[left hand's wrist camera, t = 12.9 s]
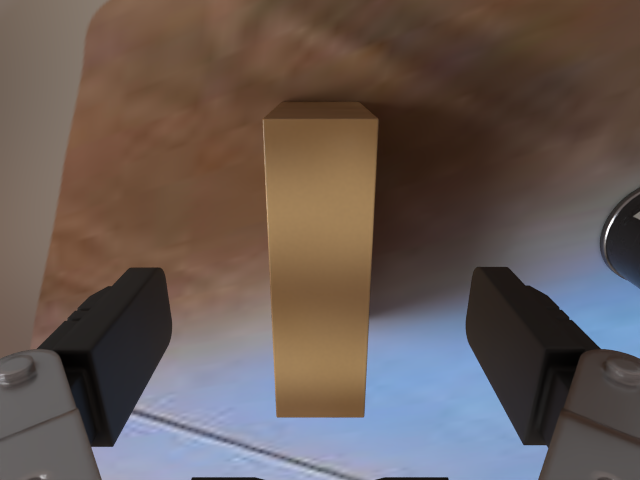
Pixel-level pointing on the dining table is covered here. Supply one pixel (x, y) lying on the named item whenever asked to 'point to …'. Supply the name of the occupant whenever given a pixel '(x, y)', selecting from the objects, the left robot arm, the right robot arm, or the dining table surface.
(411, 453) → the dining table surface
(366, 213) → the box
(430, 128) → the dining table surface
